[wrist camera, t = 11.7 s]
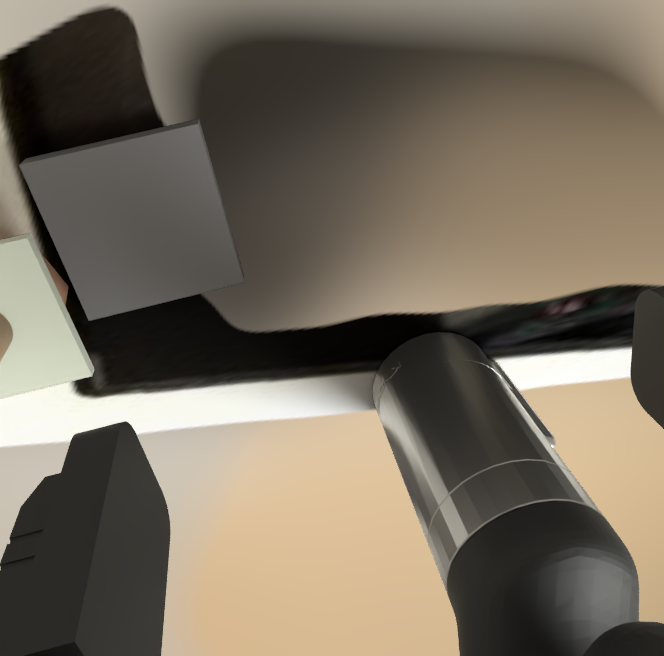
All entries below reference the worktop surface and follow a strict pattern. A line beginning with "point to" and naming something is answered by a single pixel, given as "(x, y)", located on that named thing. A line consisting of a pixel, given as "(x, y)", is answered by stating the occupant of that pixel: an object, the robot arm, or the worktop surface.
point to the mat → (136, 218)
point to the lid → (34, 324)
